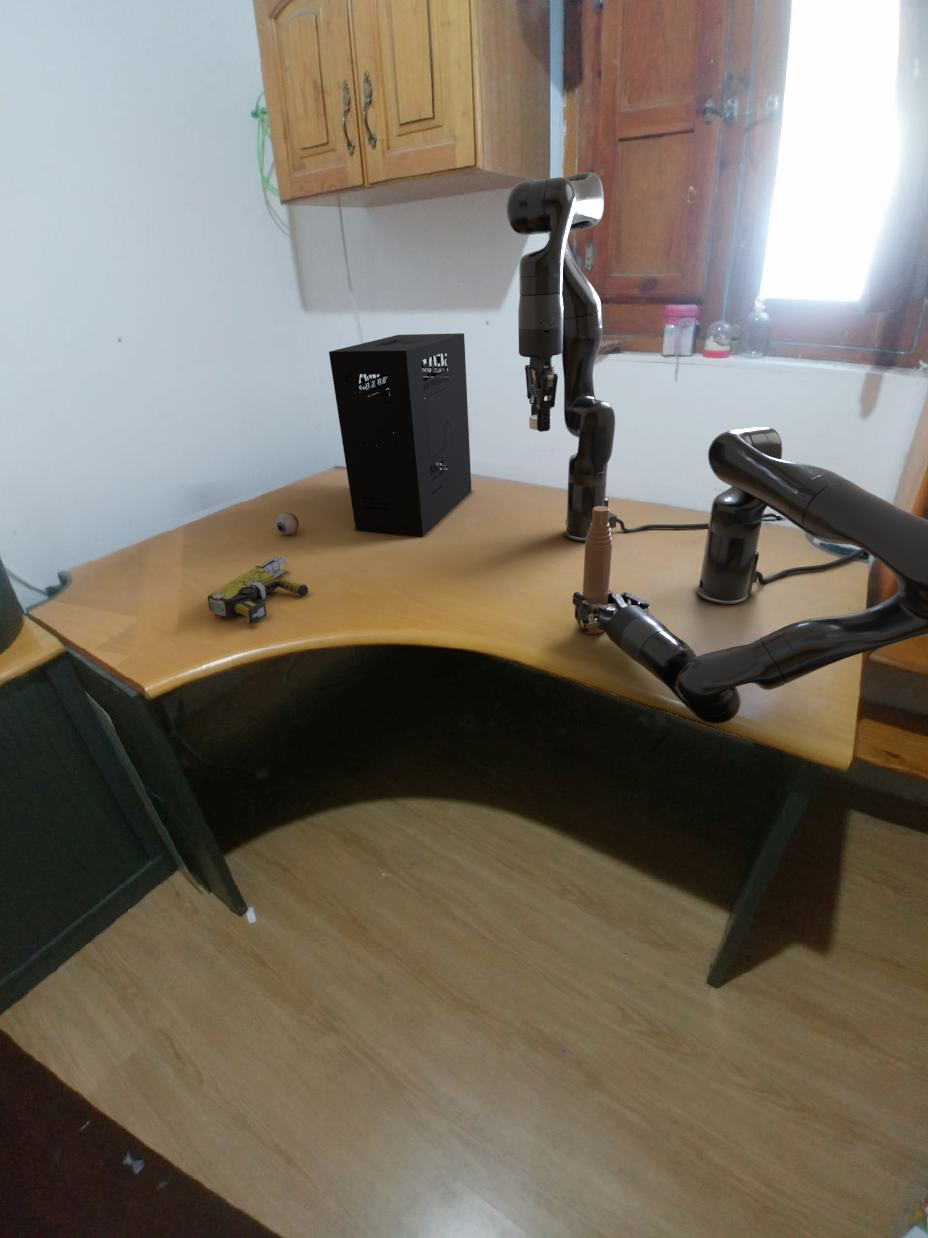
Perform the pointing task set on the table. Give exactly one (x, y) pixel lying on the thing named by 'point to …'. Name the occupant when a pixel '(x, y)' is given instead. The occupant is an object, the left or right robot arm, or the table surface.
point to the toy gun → (252, 591)
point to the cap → (534, 422)
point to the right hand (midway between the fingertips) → (587, 593)
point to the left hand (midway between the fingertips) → (540, 427)
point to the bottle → (597, 560)
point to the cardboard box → (404, 430)
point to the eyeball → (287, 523)
